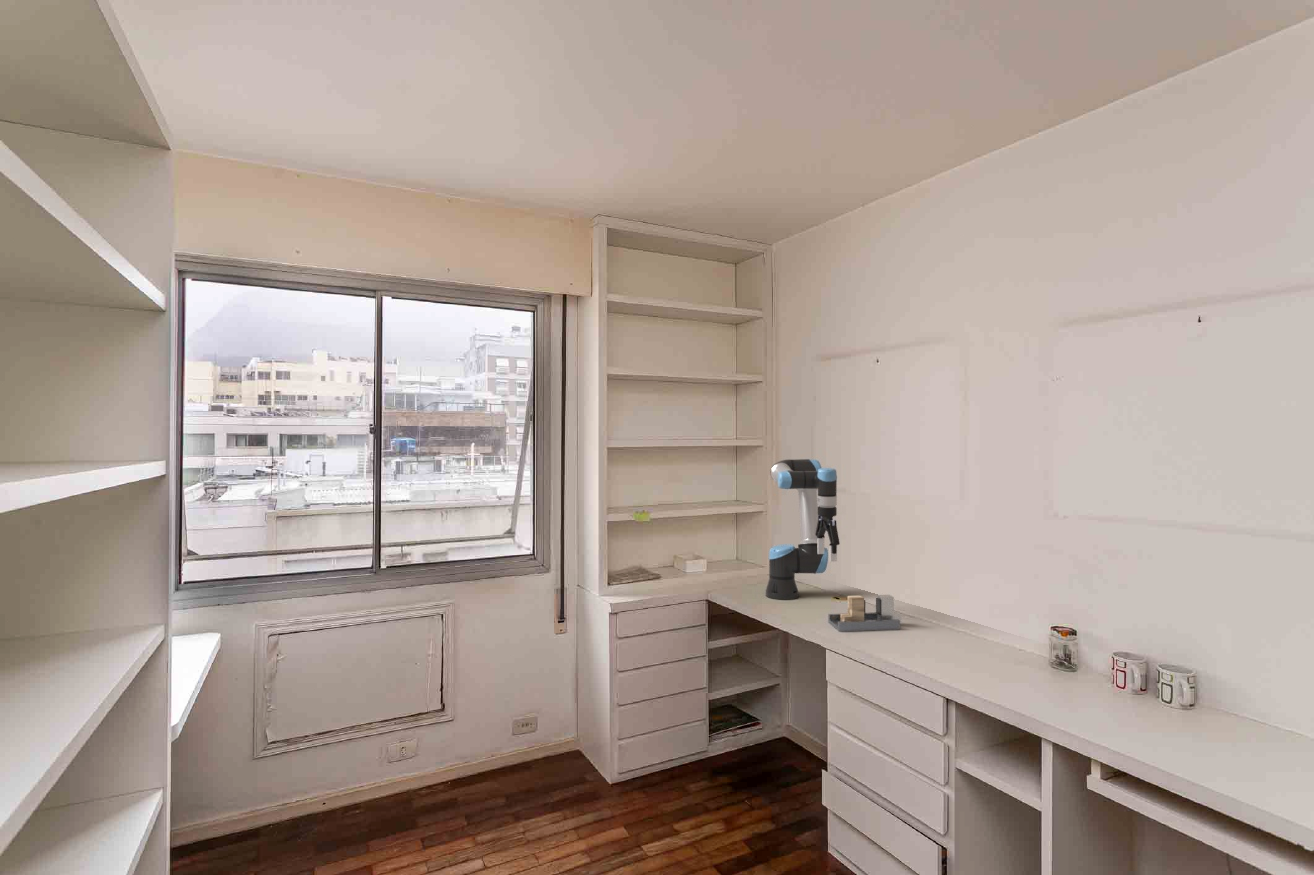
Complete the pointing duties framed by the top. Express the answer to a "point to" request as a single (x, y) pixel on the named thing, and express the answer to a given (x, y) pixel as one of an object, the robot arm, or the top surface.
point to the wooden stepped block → (854, 609)
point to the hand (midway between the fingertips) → (826, 557)
